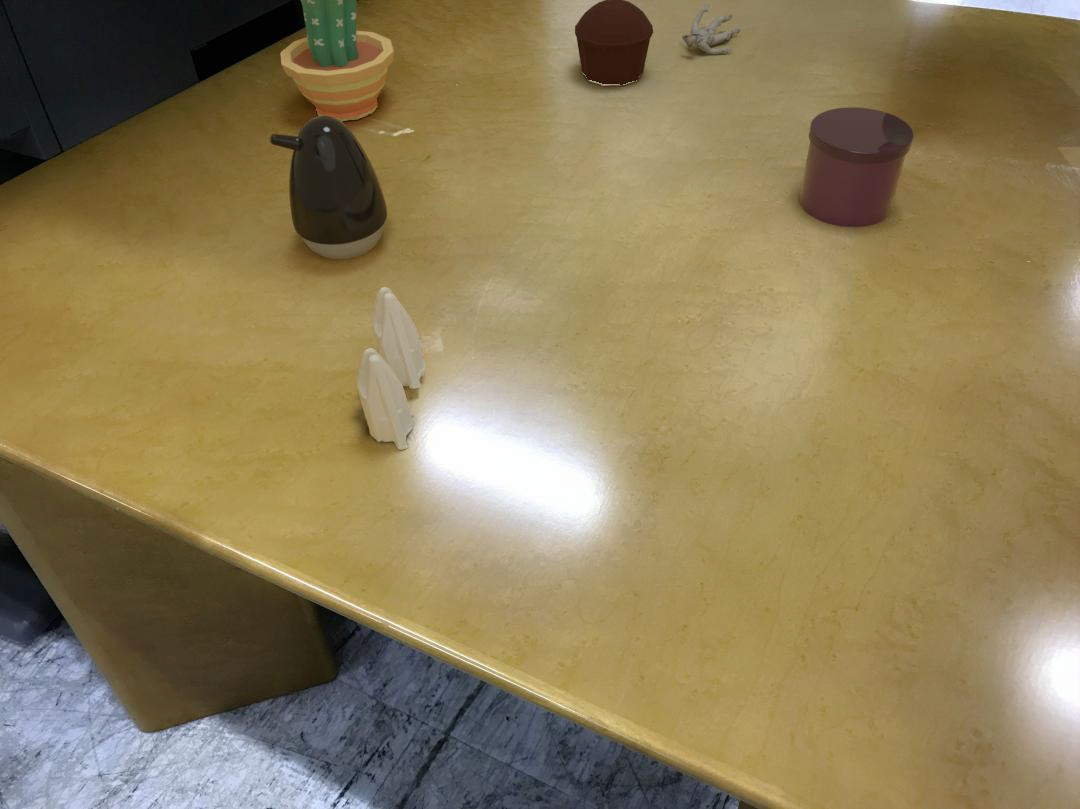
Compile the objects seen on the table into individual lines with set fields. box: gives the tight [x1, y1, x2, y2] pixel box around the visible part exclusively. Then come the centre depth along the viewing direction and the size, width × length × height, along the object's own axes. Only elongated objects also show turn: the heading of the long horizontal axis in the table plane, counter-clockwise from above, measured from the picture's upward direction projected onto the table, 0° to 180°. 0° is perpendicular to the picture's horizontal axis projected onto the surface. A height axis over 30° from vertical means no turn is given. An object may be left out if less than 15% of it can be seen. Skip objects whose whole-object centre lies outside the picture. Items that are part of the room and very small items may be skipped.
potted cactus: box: [279, 0, 395, 119], centre depth 118 cm, size 15×15×25 cm
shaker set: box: [356, 286, 426, 451], centre depth 78 cm, size 12×4×11 cm, turn 175°
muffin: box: [574, 0, 654, 85], centre depth 129 cm, size 12×11×10 cm
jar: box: [798, 106, 915, 228], centre depth 99 cm, size 11×11×11 cm
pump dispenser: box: [269, 116, 388, 261], centre depth 96 cm, size 10×10×15 cm
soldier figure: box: [681, 4, 741, 55], centre depth 138 cm, size 8×5×12 cm
